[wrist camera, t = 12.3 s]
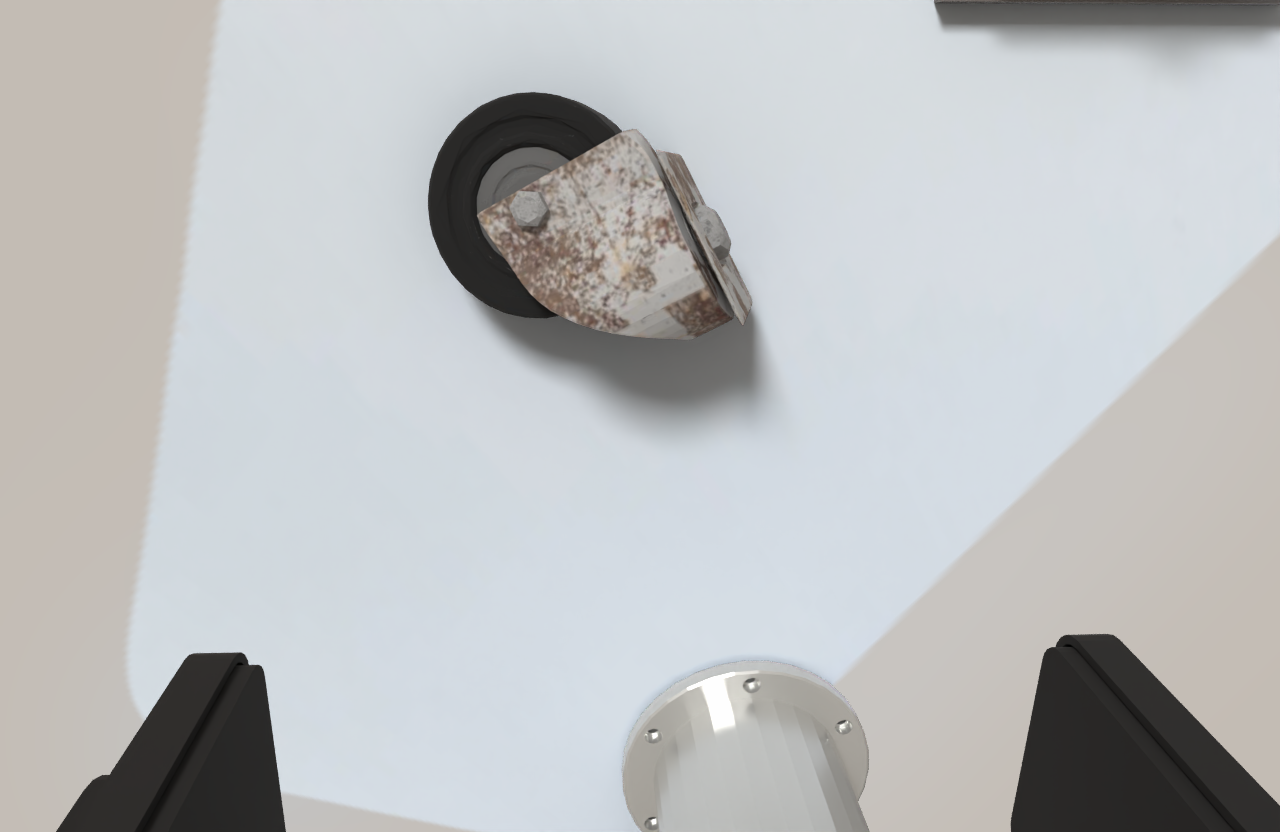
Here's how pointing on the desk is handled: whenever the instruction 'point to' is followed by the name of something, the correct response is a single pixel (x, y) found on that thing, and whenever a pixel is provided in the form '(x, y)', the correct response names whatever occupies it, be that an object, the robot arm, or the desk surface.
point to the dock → (1123, 1)
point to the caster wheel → (580, 223)
